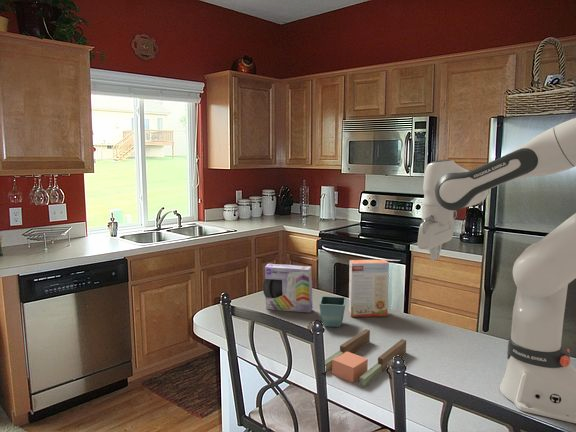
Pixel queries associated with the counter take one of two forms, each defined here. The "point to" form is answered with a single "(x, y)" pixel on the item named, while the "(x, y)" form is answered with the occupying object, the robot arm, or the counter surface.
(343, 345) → the parallel rails
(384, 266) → the cracker box
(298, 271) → the cake pan box
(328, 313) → the flower pot
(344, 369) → the orange block
